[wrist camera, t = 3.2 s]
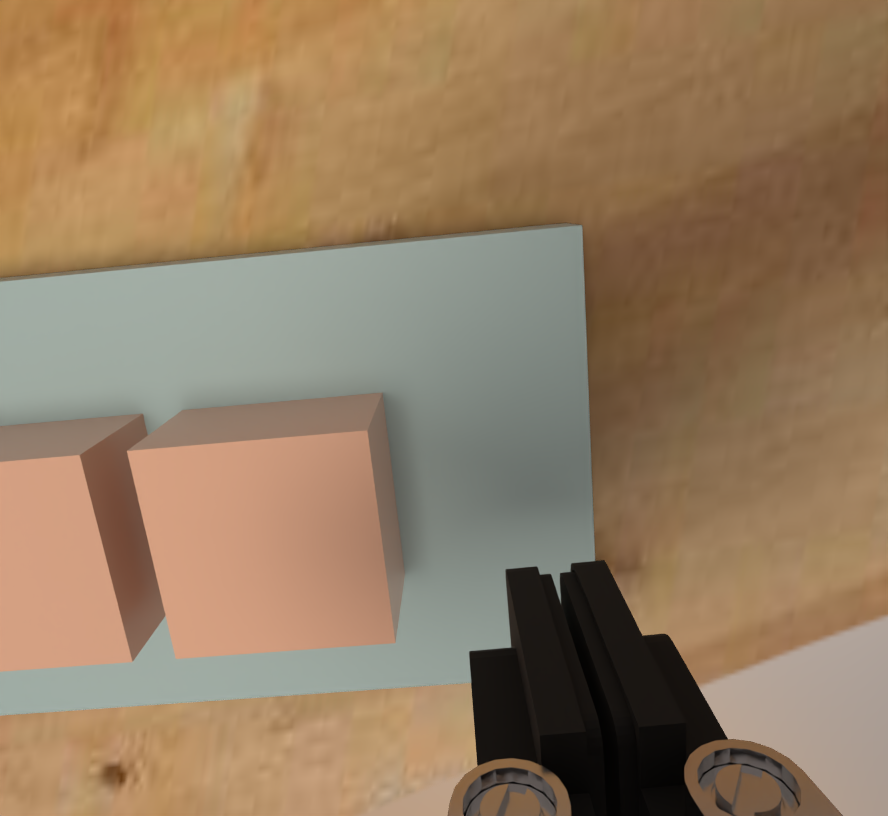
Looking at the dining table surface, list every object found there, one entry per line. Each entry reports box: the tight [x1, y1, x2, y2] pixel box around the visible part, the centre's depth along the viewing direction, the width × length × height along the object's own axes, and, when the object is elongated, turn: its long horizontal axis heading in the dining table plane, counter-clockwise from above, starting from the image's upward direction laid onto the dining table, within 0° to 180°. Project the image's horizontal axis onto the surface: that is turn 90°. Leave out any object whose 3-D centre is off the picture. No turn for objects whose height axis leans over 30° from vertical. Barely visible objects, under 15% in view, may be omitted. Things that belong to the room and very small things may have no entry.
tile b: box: [0, 414, 166, 672], centre depth 16 cm, size 5×5×3 cm
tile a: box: [127, 392, 405, 659], centre depth 16 cm, size 5×5×3 cm
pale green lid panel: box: [0, 223, 595, 715], centre depth 19 cm, size 20×12×2 cm, turn 95°
